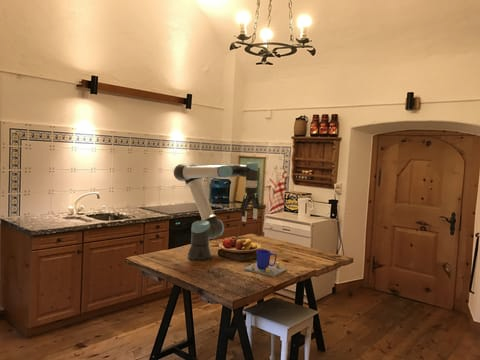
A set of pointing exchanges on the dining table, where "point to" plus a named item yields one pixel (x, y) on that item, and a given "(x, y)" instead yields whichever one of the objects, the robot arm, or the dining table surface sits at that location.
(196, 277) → the dining table surface
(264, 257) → the mug
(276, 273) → the tray
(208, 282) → the dining table surface
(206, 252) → the robot arm
